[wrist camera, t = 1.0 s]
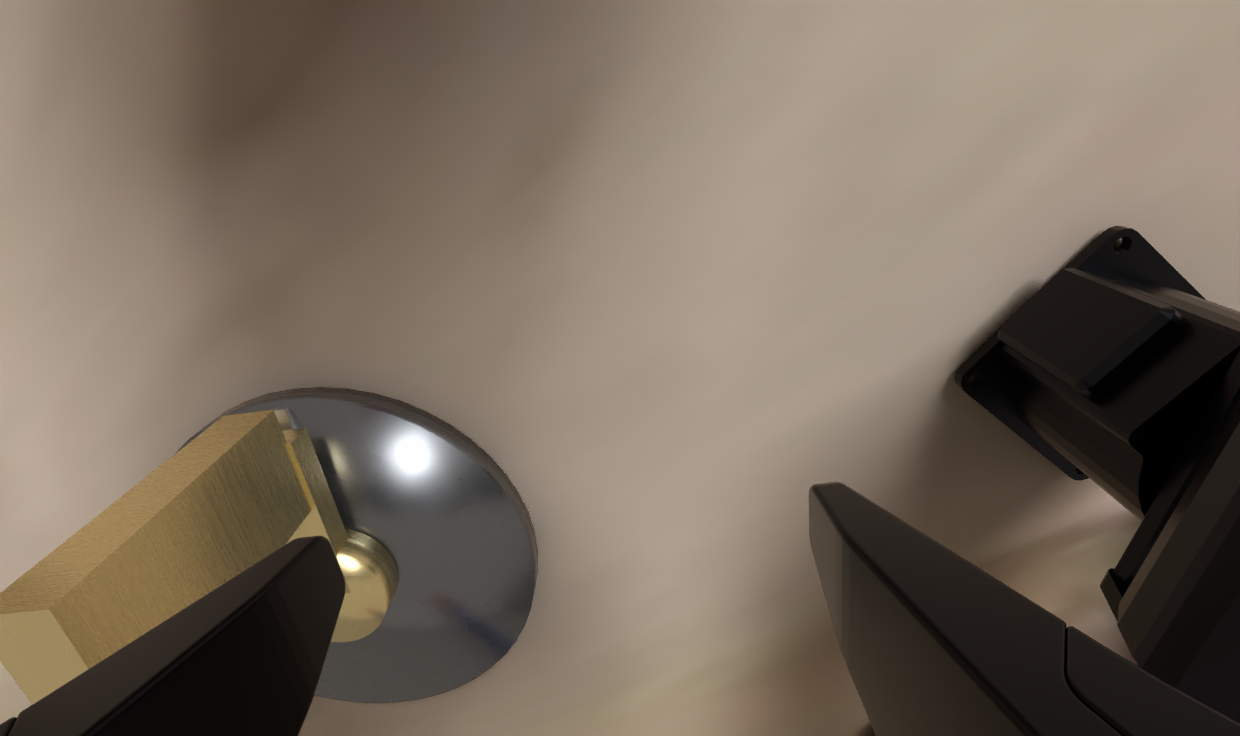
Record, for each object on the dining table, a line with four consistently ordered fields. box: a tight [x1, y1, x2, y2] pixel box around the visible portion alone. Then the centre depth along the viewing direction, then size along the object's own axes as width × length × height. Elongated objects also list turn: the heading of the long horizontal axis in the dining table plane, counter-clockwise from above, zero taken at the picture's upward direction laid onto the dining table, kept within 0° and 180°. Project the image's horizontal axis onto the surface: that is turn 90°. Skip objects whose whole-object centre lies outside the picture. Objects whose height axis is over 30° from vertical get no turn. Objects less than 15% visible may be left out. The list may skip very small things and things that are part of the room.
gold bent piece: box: [0, 410, 399, 705], centre depth 18 cm, size 9×4×9 cm, turn 8°
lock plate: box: [174, 387, 538, 703], centre depth 24 cm, size 14×14×1 cm
